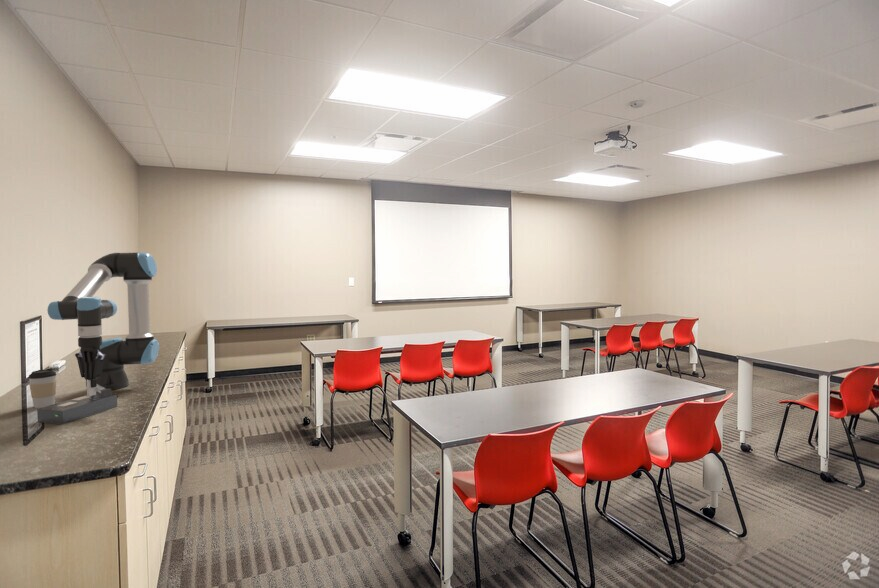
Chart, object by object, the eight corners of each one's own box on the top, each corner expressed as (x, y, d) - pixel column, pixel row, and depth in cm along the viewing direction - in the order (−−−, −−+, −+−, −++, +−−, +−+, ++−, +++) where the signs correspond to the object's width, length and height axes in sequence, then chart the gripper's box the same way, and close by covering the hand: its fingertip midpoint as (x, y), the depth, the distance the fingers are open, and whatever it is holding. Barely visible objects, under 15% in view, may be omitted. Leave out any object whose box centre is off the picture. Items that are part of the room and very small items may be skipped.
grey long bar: (85, 387, 191) (85, 382, 191) (94, 386, 193) (94, 381, 193) (102, 396, 178) (102, 390, 178) (111, 394, 180) (111, 389, 180)
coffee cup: (41, 409, 188) (39, 373, 187) (24, 408, 190) (21, 372, 189) (63, 402, 197) (61, 368, 196) (46, 401, 199) (44, 367, 198)
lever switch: (94, 404, 194) (93, 386, 193) (117, 406, 191) (116, 387, 191) (36, 422, 172) (35, 401, 171) (62, 424, 169) (60, 403, 169)
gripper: (67, 336, 179) (69, 396, 181) (93, 338, 176) (95, 399, 178) (86, 334, 187) (88, 391, 188) (111, 335, 184) (113, 394, 185)
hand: (91, 395), depth 183 cm, fingers closed
